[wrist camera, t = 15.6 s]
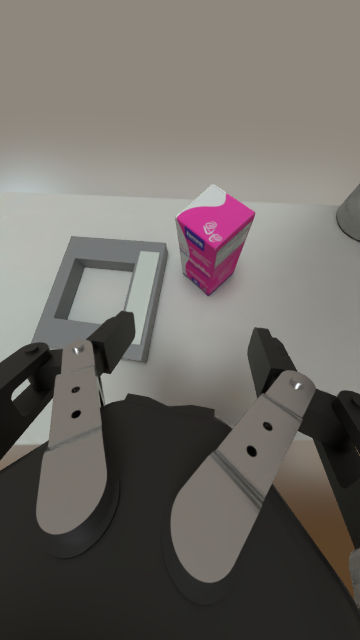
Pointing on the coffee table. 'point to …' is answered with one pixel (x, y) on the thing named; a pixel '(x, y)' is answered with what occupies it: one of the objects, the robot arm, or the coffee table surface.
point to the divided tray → (106, 255)
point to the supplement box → (212, 237)
